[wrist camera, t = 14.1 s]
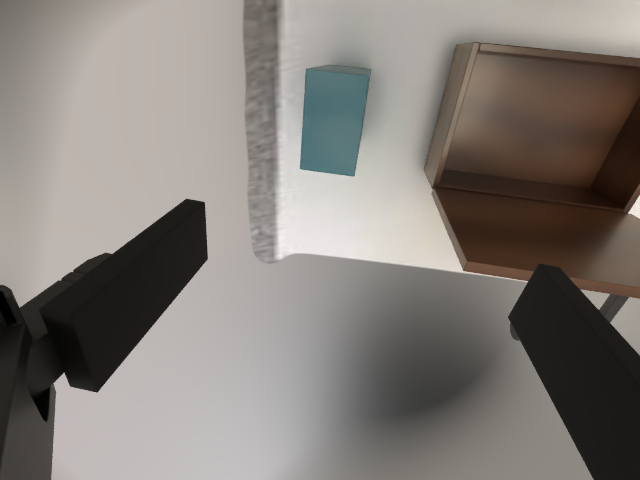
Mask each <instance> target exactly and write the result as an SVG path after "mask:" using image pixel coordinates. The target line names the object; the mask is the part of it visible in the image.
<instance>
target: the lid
mask: <svg viewBox="0 0 640 480" xmlns="http://www.w3.org/2000/svg"><path fill="white" fill-rule="evenodd" d="M432 196H433V199H434V201H435V204H436V206H437V208H438V211H439V213H440V216H441V218H442V220H443V223H444V225H445V228H446V230H447V232H448V235H449V237H450V240H451V242H452V245H453V247H454V249H455V252H456V254H457V257H458V259H459V261H460V264H461V266H462V269H463V271H467V272H473V273H480V274H486V275H493V276H499V277H505V278H512V279H518V280H525V281H529V280H530V278H531V276H532V274H533V273H534V271H535V269H536V267H537V266H538V264H545V265H550V266H556V267H560V268H561V269H562V270H563V272H564V273H565V274H566V275H567V276H568V277H569V278H570V279H571V280H572V282H573V283H574V284H575V285H576V286H577V287H578V288H579V289H582V290H589V291H595V292H602V293H608V294H610V295H609V297H608V298H607V300H606V301H605V303H604V304H603V306H602V307H601V308H600V310H599V311H600V312H601V314H602V315H603V316H604V317H605V318H606V319H607V320H608V321H609V322H611V321H612V319H613V318H614V317H615V315H616V314H617V312H618V311H619V310H620V309H621V307H622V306H623V305H624V303H625V302H626V301H627V299H628V298H629V297H634V298H640V219H639V218H637V217H636V216H634V215H632V214H626V213H619V212H612V211H604V210H597V209H589V208H582V207H575V206H567V205H560V204H553V203H545V202H538V201H531V200H523V199H516V198H509V197H501V196H494V195H487V194H479V193H472V192H465V191H457V190H450V189H443V188H435V187H434V188H433V191H432ZM510 332H511V335H512V337H513V338H514V339H515V340H518V341H520V339H519V337H518V335H517V333H516V331H515V330H514V328H513V326H512V324H510Z"/></svg>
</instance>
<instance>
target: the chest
mask: <svg viewBox="0 0 640 480" xmlns="http://www.w3.org/2000/svg"><path fill="white" fill-rule="evenodd" d="M424 171H425V174H426V176H427V178H428V181H429V183H430V185H431V188H432V189H433V188H434V187H435V188H443V189H450V190H457V191H465V192H472V193H479V194H487V195H494V196H501V197H509V198H516V199H523V200H531V201H538V202H545V203H553V204H560V205H567V206H575V207H582V208H589V209H597V210H604V211H612V212H619V213H626V214H628V212H629V211H630V209H631V208H632V206H633V205H634V203H635V201H636V200H637V198H638V197H639V195H640V58H632V57H622V56H612V55H601V54H591V53H581V52H571V51H561V50H551V49H541V48H530V47H520V46H510V45H500V44H490V43H480V42H470V43H464V44H457V45H456V48H455V52H454V56H453V60H452V64H451V67H450V71H449V75H448V79H447V83H446V87H445V90H444V94H443V98H442V102H441V106H440V110H439V113H438V117H437V121H436V125H435V129H434V133H433V136H432V140H431V144H430V148H429V152H428V156H427V159H426V163H425V167H424Z"/></svg>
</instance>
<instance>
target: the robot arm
mask: <svg viewBox="0 0 640 480" xmlns="http://www.w3.org/2000/svg"><path fill="white" fill-rule="evenodd" d="M207 259H208V255H207V235H206V217H205V202H201V201H195V200H190V199H186V200H184V201H183V202H182V203H180V204H179V205H177V206H176V207H175V208H174V209H172V210H171V211H169V212H168V213H167V214H165V215H164V216H163V217H161V218H160V219H159V220H157V221H156V222H155V223H153V224H152V225H151V226H149V227H148V228H147V229H145V230H144V231H143V232H141V233H140V234H139V235H137V236H136V237H135V238H133V239H132V240H131V241H129V242H128V243H127V244H125V245H124V246H123V247H121V248H120V249H119V250H117V251H116V252H115V253H113V254H109V253H104V254H102V255H99V256H97V257H94V258H92V259H89V260H87V261H86V262H84V263H83V264H81V265H80V266H79V267H77V268H76V269H74V271H73V272H70V273H69V274H67V275H66V276H64V277H63V278H62V280H61V281H57V282H56V283H54V284H53V285H52V286H50V287H49V288H47V289H46V290H44V291H43V292H42V293H40V294H39V295H38V296H36V297H35V298H33V299H32V300H30V301H29V302H27V303H26V304H25V305H23V306H22V307H20V308H19V306H18V304H17V302H16V299H15V297H14V295H13V293H12V290H11V289H9V288H8V287H6V286H4V285H0V480H51V471H52V453H53V435H54V416H55V398H56V391H55V388H54V384H53V383H54V382H55V381H56V380H57V379H58V378H59V377H60V376H61V375H62V374H63V373H64V372H65V375H66V377H67V379H68V382H69V385H70V386H71V387H75V388H79V389H84V390H88V391H93V392H98V391H99V390H100V389H101V387H102V386H103V385H104V384H105V382H106V381H107V380H108V379H109V378H110V376H111V375H112V374H113V373H114V372H115V370H116V369H117V368H118V367H119V366H120V364H121V363H122V362H123V361H124V359H125V358H126V357H127V356H128V355H129V354H130V352H131V351H132V350H133V349H134V347H135V346H136V345H137V344H138V343H139V341H140V340H141V339H142V338H143V337H144V335H145V334H146V333H147V332H148V331H149V329H150V328H151V327H152V326H153V325H154V323H155V322H156V321H157V320H158V319H159V317H160V316H161V315H162V313H163V312H164V311H165V310H166V309H167V308H168V306H169V305H170V304H171V303H172V302H173V300H174V299H175V298H176V297H177V296H178V294H179V293H180V292H181V290H183V288H184V287H185V286H186V285H187V283H188V282H189V281H190V280H191V279H192V277H193V276H194V275H195V274H196V273H197V271H198V270H199V269H200V268H201V267H202V265H203V264H204V263H205V262H206V261H207ZM508 318H509V320H510V322H511V324H512V326H513V328H514V330H515V331H516V333H517V335H518V337H519V339H520V341H521V343H522V345H523V347H524V349H525V350H526V352H527V354H528V356H529V358H530V360H531V361H532V364H533V366H534V367H535V369H536V371H537V373H538V375H539V377H540V379H541V381H542V383H543V384H544V386H545V388H546V390H547V392H548V394H549V396H550V398H551V400H552V401H553V403H554V405H555V407H556V409H557V411H558V413H559V415H560V417H561V419H562V420H563V422H564V424H565V426H566V428H567V430H568V432H569V434H570V435H571V438H572V439H573V441H574V443H575V445H576V447H577V449H578V451H579V453H580V454H581V456H582V458H583V460H584V462H585V464H586V466H587V468H588V470H589V471H590V473H591V475H592V477H593V479H594V480H640V356H639V354H638V353H637V352H636V351H635V350H634V349H633V348H632V347H631V346H630V345H629V344H628V342H627V341H626V340H625V339H624V338H623V337H622V336H621V335H620V333H619V332H618V331H617V330H616V329H615V328H614V327H613V326H612V325H611V324H610V322H609V321H608V320H607V319H606V318H605V317H604V316H603V315H602V314H601V312H600V311H599V310H598V309H597V308H596V307H595V306H594V305H593V304H592V303H591V301H590V300H589V299H588V298H587V297H586V296H585V295H584V294H583V293H582V291H581V290H580V289H579V288H578V287H577V286H576V285H575V284H574V283H573V282H572V280H571V279H570V278H569V277H568V276H567V275H566V274H565V273H564V272H563V270H562V269H561V268H560V267H556V266H550V265H545V264H538V266H537V267H536V269H535V271H534V273H533V274H532V276H531V278H530V280H529V281H528V283H527V285H526V287H525V288H524V290H523V292H522V294H521V295H520V297H519V299H518V301H517V302H516V304H515V306H514V308H513V309H512V311H511V313H510V315H509V316H508Z"/></svg>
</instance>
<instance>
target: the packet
mask: <svg viewBox="0 0 640 480" xmlns="http://www.w3.org/2000/svg"><path fill="white" fill-rule="evenodd" d="M370 74H371V69H365V68H356V67H346V66H337V65H325V66H320V67H314V68H309V69H306V79H305V95H304V112H303V128H302V145H301V162H300V169H302V170H310V171H317V172H325V173H332V174H339V175H347V176H355V170H356V164H357V158H358V152H359V146H360V140H361V133H362V127H363V120H364V113H365V107H366V100H367V93H368V87H369V80H370Z"/></svg>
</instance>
